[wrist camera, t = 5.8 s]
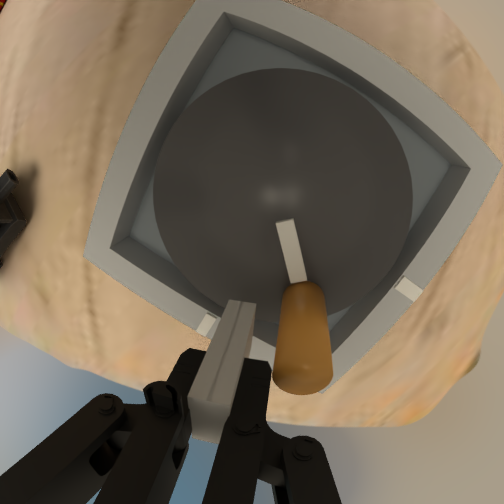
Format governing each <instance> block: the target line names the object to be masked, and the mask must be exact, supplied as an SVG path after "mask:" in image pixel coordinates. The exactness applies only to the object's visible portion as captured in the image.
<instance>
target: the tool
mask: <svg viewBox="0 0 504 504" xmlns="http://www.w3.org/2000/svg"><path fill="white" fill-rule="evenodd" d="M18 184H19V181H18V179H17V177H16V175H15V174H14V173H13V171H11V170H9V169H7V170H6V171H5V172H4V173H3V174H2V176H1V177H0V257H1V256H2V255H3V253H4V252H5V251H6V249H7V248H8V247H9V245H10V244H11V243H12V242H13V240H14V239H15V238H16V237H17V235H18V234H19V233H20V232H21V231H22V229H23V228H24V227H25V226H26V220H25V218H24V216H23V214H22V212H21V210H20V208H19V207H18V205H17V203H16V201H15V199H14V197H13V195H12V193H11V192H12V191H13V189H14V188H15V187H16V186H17V185H18ZM2 265H3V264H2V262H1V260H0V268H1V267H2Z"/></svg>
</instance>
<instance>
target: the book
mask: <svg viewBox="0 0 504 504" xmlns="http://www.w3.org/2000/svg"><path fill="white" fill-rule="evenodd" d="M5 1H6V0H0V10H1V8H2V7H3V5H4V3H5Z"/></svg>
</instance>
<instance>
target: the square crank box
mask: <svg viewBox="0 0 504 504" xmlns="http://www.w3.org/2000/svg"><path fill="white" fill-rule="evenodd" d="M271 68H290V69H301V70H305V71H310V72H315V73H319V74H321V75H324V76H327V77H330V78H332V79H335V80H337V81H339V82H341V83H343V84H344V85H346V86H348V87H350V88H352V89H353V90H355V91H356V92H357V93H359V94H360V95H361V96H363V97H364V98H365V99H367V100H368V101H369V102H370V103H371V104H372V105H373V106H374V107H375V108H376V109H377V110H378V111H379V112H380V113H381V114H382V115H383V117H384V118H385V119H386V121H387V122H388V123H389V125H390V126H391V127H392V129H393V130H394V132H395V134H396V136H397V138H398V139H399V141H400V143H401V145H402V148H403V150H404V153H405V156H406V158H407V161H408V165H409V169H410V174H411V178H412V189H413V208H412V217H411V222H410V227H409V231H408V234H407V237H406V240H405V243H404V246H403V248H402V250H401V252H400V254H399V256H398V258H397V260H396V262H395V263H394V265H393V266H392V268H391V269H390V271H389V272H388V273H387V275H386V276H385V277H384V278H383V279H382V280H381V282H380V283H379V284H378V285H377V286H376V287H375V288H374V289H373V290H371V291H370V292H369V293H368V294H367V295H366V296H364V297H363V298H362V299H360V300H359V301H357V302H356V303H354V304H353V305H351V306H349V307H347V308H345V309H343V310H341V311H339V312H337V313H334V314H332V315H329V316H327V320H328V328H329V336H330V345H331V354H332V364H333V378H332V380H331V382H330V383H329V385H328V386H327V387H325V388H324V389H323V390H321V391H319V393H324V392H325V391H326V390H327V389H328V388H329V387H331V386H332V385H333V384H334V383H335V382H336V381H337V380H339V379H340V378H341V377H342V376H343V375H344V374H345V373H346V372H347V371H348V370H350V369H351V368H352V367H353V366H354V365H355V364H356V363H357V362H358V361H359V360H360V359H361V358H362V357H363V356H364V355H365V354H366V353H367V352H368V351H369V350H370V349H371V348H372V347H373V346H374V345H375V344H376V343H377V342H378V341H379V340H380V339H381V338H382V337H383V336H384V335H385V334H386V333H387V332H388V330H389V329H390V328H391V327H392V326H393V325H394V324H395V323H396V322H397V321H398V319H399V318H400V317H401V316H402V315H403V314H404V313H405V312H406V310H407V309H408V308H409V307H410V306H411V304H412V303H413V302H415V301H416V299H417V298H418V297H419V296H420V295H421V293H422V292H423V290H424V289H425V287H426V286H427V285H428V284H429V282H430V281H431V280H432V278H433V277H434V276H435V274H436V273H437V272H438V270H439V269H440V268H441V266H442V265H443V264H444V262H445V261H446V260H447V258H448V257H449V255H450V254H451V252H452V251H453V250H454V248H455V247H456V245H457V244H458V242H459V241H460V239H461V238H462V236H463V235H464V233H465V231H466V230H467V228H468V227H469V225H470V224H471V222H472V220H473V219H474V217H475V215H476V214H477V212H478V210H479V209H480V207H481V205H482V203H483V202H484V200H485V198H486V196H487V194H488V193H489V191H490V189H491V187H492V185H493V183H494V181H495V179H496V177H497V175H498V173H499V171H500V169H501V167H502V163H501V162H500V161H499V159H498V158H497V157H496V156H495V154H494V153H493V152H492V151H491V150H490V148H489V147H488V146H487V145H486V144H485V143H484V141H483V140H482V139H481V138H480V137H479V136H478V135H477V134H476V132H475V131H474V130H473V129H472V128H471V127H470V126H469V125H468V124H467V123H466V122H465V121H464V120H463V119H462V118H461V117H460V116H459V115H458V114H457V113H456V112H455V111H454V110H453V109H452V108H451V107H450V106H449V105H448V104H447V103H446V102H444V101H443V100H442V99H441V98H440V97H439V96H438V95H437V94H436V93H434V92H433V91H432V90H431V89H430V88H429V87H427V86H426V85H425V84H424V83H422V82H421V81H420V80H419V79H418V78H416V77H415V76H414V75H412V74H411V73H410V72H409V71H407V70H406V69H405V68H403V67H402V66H400V65H399V64H398V63H396V62H395V61H394V60H392V59H391V58H389V57H388V56H386V55H385V54H383V53H382V52H380V51H379V50H377V49H376V48H374V47H373V46H371V45H369V44H368V43H366V42H365V41H363V40H361V39H360V38H358V37H356V36H355V35H353V34H351V33H349V32H348V31H346V30H344V29H342V28H340V27H338V26H337V25H335V24H333V23H331V22H329V21H327V20H325V19H323V18H321V17H319V16H317V15H314V14H312V13H310V12H308V11H306V10H303V9H301V8H299V7H296V6H294V5H292V4H289V3H287V2H284V1H282V0H196V1H195V2H194V4H193V5H192V6H191V8H190V9H189V11H188V12H187V14H186V15H185V16H184V18H183V19H182V21H181V22H180V24H179V25H178V27H177V28H176V30H175V31H174V33H173V35H172V36H171V38H170V39H169V41H168V43H167V44H166V46H165V47H164V49H163V51H162V53H161V54H160V56H159V58H158V59H157V61H156V63H155V65H154V67H153V68H152V70H151V72H150V74H149V76H148V78H147V80H146V82H145V83H144V85H143V87H142V89H141V91H140V93H139V95H138V97H137V100H136V102H135V104H134V106H133V108H132V110H131V112H130V115H129V117H128V119H127V121H126V124H125V126H124V128H123V131H122V133H121V135H120V138H119V140H118V143H117V145H116V148H115V151H114V153H113V156H112V158H111V161H110V164H109V167H108V170H107V172H106V175H105V178H104V181H103V184H102V187H101V191H100V194H99V197H98V200H97V204H96V207H95V210H94V214H93V218H92V221H91V225H90V229H89V233H88V237H87V241H86V245H85V250H84V254H83V257H84V258H86V259H87V260H88V261H90V262H91V263H93V264H94V265H95V266H97V267H98V268H99V269H101V270H102V271H104V272H105V273H106V274H108V275H109V276H111V277H112V278H113V279H115V280H116V281H118V282H119V283H121V284H122V285H124V286H125V287H127V288H128V289H130V290H131V291H132V292H134V293H135V294H137V295H139V296H140V297H142V298H143V299H145V300H146V301H148V302H149V303H151V304H152V305H154V306H156V307H157V308H159V309H160V310H162V311H164V312H165V313H167V314H168V315H170V316H172V317H173V318H175V319H177V320H178V321H180V322H182V323H183V324H185V325H187V326H188V327H190V328H192V329H194V330H195V331H196V332H197V333H199V334H200V335H202V336H204V337H205V336H206V337H208V338H209V339H211V340H212V338H213V336H214V333H215V331H216V329H217V326H218V324H219V322H220V320H221V317H222V315H223V313H224V310H225V308H223V307H221V306H219V305H218V304H216V303H215V302H213V301H212V300H210V299H209V298H207V297H206V296H204V295H203V294H202V293H201V292H200V291H198V290H197V289H196V288H195V287H194V286H193V285H192V284H191V283H190V282H189V281H188V280H187V279H186V278H185V277H184V276H183V274H182V273H181V272H180V271H179V269H178V268H177V267H176V265H175V264H174V262H173V261H172V259H171V257H170V255H169V254H168V252H167V250H166V248H165V246H164V243H163V241H162V239H161V236H160V233H159V230H158V226H157V223H156V219H155V212H154V206H153V182H154V173H155V168H156V164H157V160H158V156H159V153H160V151H161V148H162V146H163V143H164V141H165V139H166V137H167V135H168V133H169V131H170V130H171V128H172V126H173V125H174V123H175V122H176V121H177V119H178V118H179V117H180V115H181V114H182V113H183V111H184V110H185V109H186V108H187V107H188V106H189V105H190V104H191V103H192V102H193V101H194V100H196V99H197V98H198V97H199V96H201V95H202V94H203V93H205V92H206V91H207V90H209V89H210V88H212V87H214V86H215V85H217V84H219V83H221V82H223V81H225V80H227V79H229V78H232V77H235V76H237V75H240V74H243V73H247V72H251V71H256V70H260V69H271ZM278 329H279V323H275V322H267V321H260V320H256V319H255V320H254V329H253V338H252V346H251V351H250V355H249V358H250V359H257V360H264V361H268V362H269V364H270V367H271V369H272V371H273V366H274V358H275V351H276V344H277V336H278Z"/></svg>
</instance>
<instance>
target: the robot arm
mask: <svg viewBox="0 0 504 504" xmlns="http://www.w3.org/2000/svg"><path fill="white" fill-rule="evenodd" d="M255 311H256V303H249V302H242V301H236V300H229V301H228V303H227V306H226V308H225V310H224V313H223V315H222V317H221V320H220V322H219V324H218V326H217V329H216V331H215V333H214V336H213V338H212V340H211V343H210V345H209V347H208V350H207V351H202V350H197V349H192V348H189V349H187V350H186V351H185V352H183V353H182V354H181V355H180V357H179V359H178V361H177V363H176V364H175V366H174V368H173V371H172V372H171V374H170V376H169V378H168V379H167V381H156V382H152V383H150V384H148V385H147V386H146V387H145V388H144V389H143V392H144V395H145V399H146V404H124V403H123V402H122V400H121V399H120V398H119V397H118V396H116V395H113V394H107V393H105V394H100V395H98V396H96V397H95V398H93V399H92V400H91V401H90V402H89V403H87V404H86V405H85V406H84V407H83V408H81V409H80V410H79V411H78V412H77V413H76V414H74V415H73V416H72V417H71V418H70V419H68V420H67V421H66V422H65V423H64V424H62V425H61V426H60V427H59V428H58V429H56V430H55V431H54V432H53V433H52V434H50V435H49V436H48V437H47V438H46V439H45V440H43V441H42V442H41V443H40V444H39V445H37V446H36V447H35V448H34V449H32V450H31V451H30V452H29V453H28V454H26V455H25V456H24V457H23V458H22V459H20V460H19V461H18V462H17V463H16V464H14V465H13V466H12V467H11V468H10V469H8V470H7V471H6V472H5V473H3V474H2V475H1V476H0V504H86V503H87V502H88V501H89V500H90V499H91V498H92V497H93V496H94V495H95V494H96V493H97V492H98V491H99V490H100V489H101V490H100V492H99V494H98V496H97V498H96V500H95V502H94V503H93V504H169V501H170V498H171V495H172V493H173V490H174V487H175V485H176V482H177V479H178V476H179V474H180V471H181V469H182V466H183V463H184V460H185V458H186V455H187V452H188V448H189V444H188V441H189V438H190V435H191V433H192V438H194V439H198V440H203V441H207V442H211V443H216V444H219V445H218V449H217V453H216V456H215V460H214V463H213V467H212V470H211V474H210V477H209V481H208V484H207V488H206V491H205V495H204V498H203V501H202V504H253V501H254V495H255V489H256V484H257V479H260V480H262V481H265V482H267V483H270V484H271V485H272V490H273V495H274V501H275V504H342V503H341V500H340V497H339V494H338V491H337V488H336V485H335V482H334V478H333V475H332V472H331V469H330V466H329V463H328V461H327V458H326V454H325V451H324V448H323V447H322V445H321V443H320V442H319V441H317V440H316V439H315V438H311V437H309V436H297V437H293V438H291V439H290V438H287V437H284V436H282V435H279V434H277V433H276V432H274V431H273V430H272V429H271V428H270V427H269V426H268V424H267V421H266V411H267V403H268V396H269V388H270V381H271V373H272V369H271V367H270V364H269V362H268V361H264V360H257V359H250V358H249V355H250V351H251V346H252V338H253V329H254V320H255Z"/></svg>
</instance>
